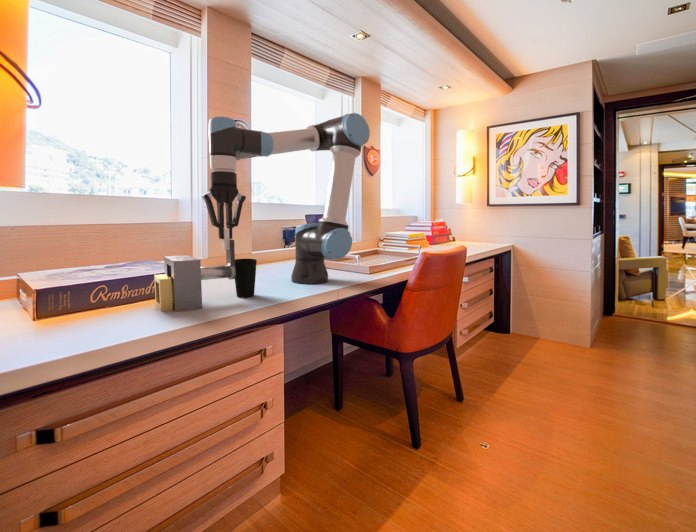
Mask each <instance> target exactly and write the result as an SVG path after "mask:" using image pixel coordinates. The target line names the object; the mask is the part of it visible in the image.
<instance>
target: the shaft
mask: <svg viewBox="0 0 696 532" xmlns="http://www.w3.org/2000/svg"><path fill="white" fill-rule="evenodd" d="M229 241H230V250H225V253H226V254H225V256H226V264H225V265H210V266H209V265H207V266H201V281H208V280H218V279H228V280H229V281H231V280H235V275H236V271H235V259H236V255H235V254H236V253H235V239H233V238H232V239H229Z"/></svg>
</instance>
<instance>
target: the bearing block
mask: <svg viewBox="0 0 696 532" xmlns="http://www.w3.org/2000/svg"><path fill="white" fill-rule="evenodd" d="M163 263H164V267H163V268H164V274H166V275H167V276H169V277H170V278H171V279H172V299H173V310H174V311H175V313H177V312H183V311H191V310H193V311H194V310H198V309H203V292H202V290H203V289H202V280H201V267H202V266H201V259H199V258H196V257H194V256H192V255H189V254H188V255H187V254H183V255H164V256H163Z"/></svg>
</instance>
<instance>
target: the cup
mask: <svg viewBox="0 0 696 532" xmlns="http://www.w3.org/2000/svg"><path fill="white" fill-rule="evenodd" d="M257 263H258V262H257V259H256V258H235V271H236V275H235V279H234V284H235V292H236V297H237V298H241V299H244V298H245V299H246V298H253V297H255V290H256V289H255V288H256V276H257V275H256V273H257Z"/></svg>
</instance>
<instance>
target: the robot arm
mask: <svg viewBox="0 0 696 532" xmlns="http://www.w3.org/2000/svg"><path fill="white" fill-rule="evenodd" d="M370 133H371V132H370V126H369V124H368V123H367V120H366V118H364V116H362V115H361V114H359V113H356V112H352V113H346V114H344V115H341V116H338V117H334V118H332V119H331V118H330V119H329V120H326V121H323V122H319V123H317V124H312V125H311V124H310V125H308V126H307V127H306V128H301V129H292V130H285V131H276V132H275V131H274V132H265V131H262V130H252V129H249V128H240V127H237V125H236V121H235V119H233V118H230V117H227V116H213V117H211V118H210V119H209V121H208V141H209V165H210V167H209V169H210V170H211V172H210V188H209V191H208V192H206V193H204V194H202V195H201V198H202V200H203V201H204V203H205V204H206V205H205V206H206V208H207V211H208V216H209V219H210V223H211V226H212V227H214V228H217V229H218V239H219V240H221V249H222V250H223V251H226V250H230V241H229V239H232V240H233V228H235V227H239V223H240V218H241V213H242V209H243V204H244V202H245V201H246V199H247V197H246V195H243V194H241V193H240V192H239V189H238V187H237V186H238V185H237V183H238V181H237V179H238V178H237V173H235V172H236V171H237V161H239V160H240V161H241V160H244V159H245V160H247V159H250V158H251V159H252V158H257V157H261V158H262V157H270V156H272V155H279V154H284V153H293V152H299V151H305V150H309V151H311V152H318V151H330V152H331V154H332V160H331V164H330V171H329V179H328V184H327V190H326V196H325V201H324V202H325V203H324V208H323V215H322V217H321V218H319V219H317V220H318V221H317V223H304V224H298V225H297V226H296V227H295V232H294V237H295V239H294V240H295V241H294V242H295V246H294V247H295V248H294V249H295V264H294V266H293V270H292V273H291V278H290V279H291V282H292V283H294V284H305V285H306V284H307V285H309V284H310V285H311V284H312V285H315V284H317V285H318V284H324V283H327V282H329V273H328V270H327V267H326V263H325V259H326V260H340V259H342V258H344V257H346V256H347V255H348V254H349V252H350V250H351V249H352V246H353V237H352V235H351V232H350V231H349V224H348V223H347V219H346V218H347V214H348V207H349V202H350V196H351V195H350V194H351V189H352V188H351V187H352V183H353V182H352V181H353V177H354V169H355V165H356V158H358V157H359V156H360V155H361V153H362V147H363V146H364V145H365V144H367V143H368V142H369V139H370V137H371V135H370ZM212 198H213V199H214V200H215V201H216V207H217V208H216V210H217V212H215V208H214V205H213V201H212ZM235 199H236V203H235V207H234V213H233V202H234V201H235ZM224 206H225V207H224ZM224 208H225V209H224ZM224 211H225V212H224ZM216 213H217V215H216ZM225 224H226V225H225ZM225 226H226V228H225Z"/></svg>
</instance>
